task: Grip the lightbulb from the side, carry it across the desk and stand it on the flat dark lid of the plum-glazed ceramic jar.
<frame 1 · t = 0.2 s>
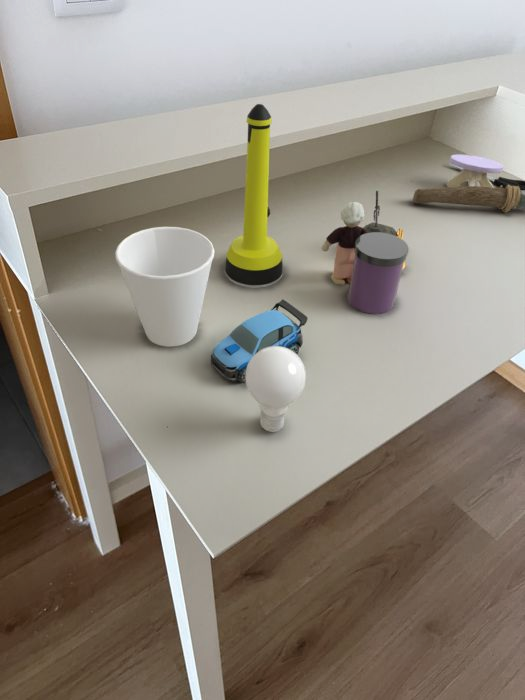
toy car: (256, 359, 75), on the table
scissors: (447, 162, 124), point 1 cm above the table
sword in stone: (373, 251, 96), on the table, touching key
stone tool: (415, 192, 108), point 3 cm above the table
key: (395, 250, 93), point 2 cm above the table, touching sword in stone
cup: (171, 331, 79), on the table
flashlight: (253, 272, 90), on the table
toy table: (468, 190, 116), on the table
grandmother figurine: (342, 280, 90), on the table
jar: (370, 300, 86), on the table
lightbulb: (271, 427, 66), on the table
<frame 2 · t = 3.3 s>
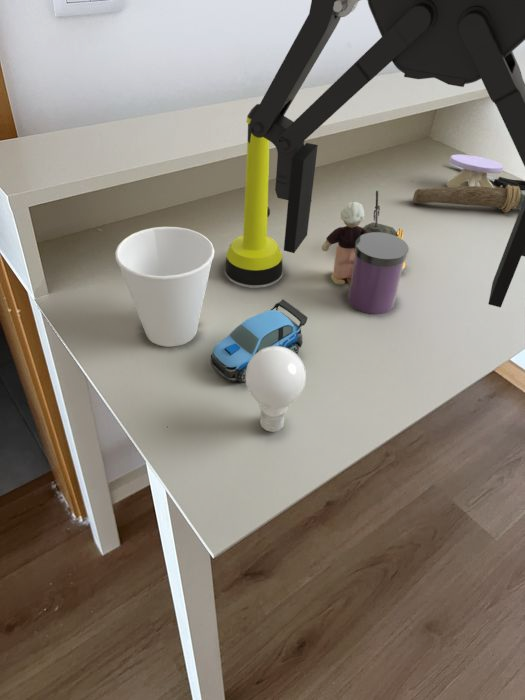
hand: (391, 268, 39), 29 cm above the table, tool pointing down, fingers open, 13 cm apart
nothing on the table moved.
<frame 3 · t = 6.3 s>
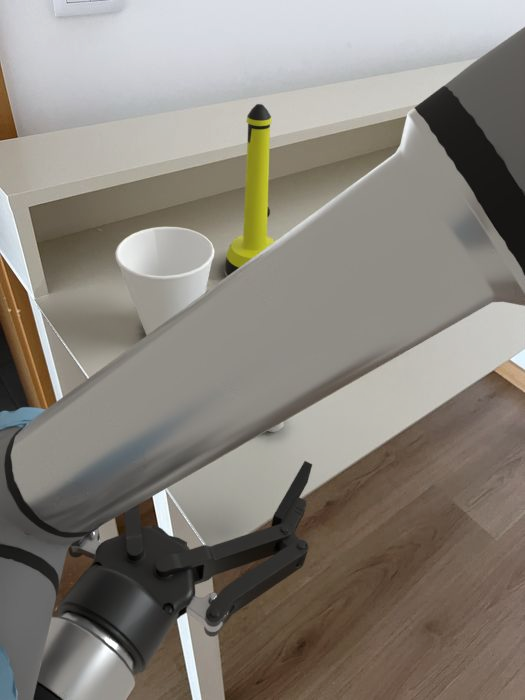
hand: (240, 440, 55), 7 cm above the table, tool horizontal, fingers open, 13 cm apart
nothing on the table moved.
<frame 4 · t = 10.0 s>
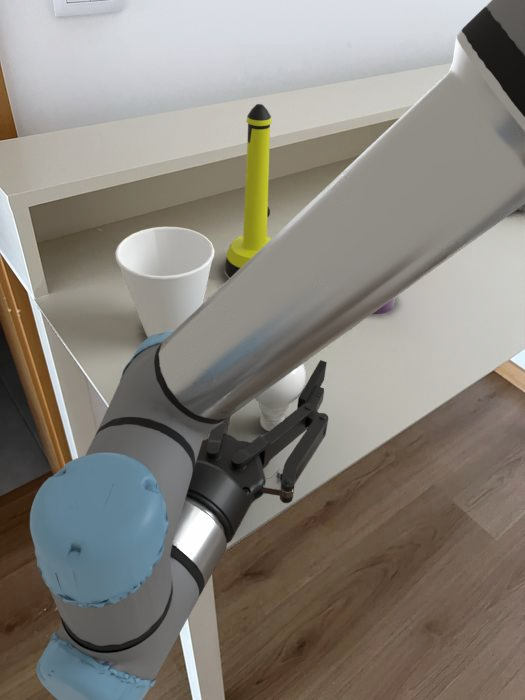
hand: (292, 360, 66), 6 cm above the table, tool horizontal, fingers closed on lightbulb, 6 cm apart
lightbulb: (271, 427, 66), on the table, touching gripper
everything else where it was.
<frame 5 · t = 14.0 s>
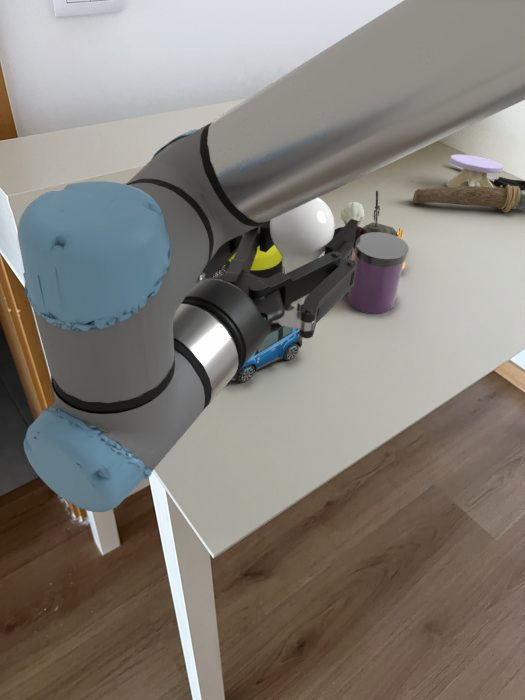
hand: (321, 222, 62), 20 cm above the table, tool horizontal, fingers closed on lightbulb, 6 cm apart
lightbulb: (295, 294, 62), point 14 cm above the table, touching gripper
everything else where it was.
when the fingers open (15 cm above the table, at t = 18.4 s): lightbulb stays where it is, resting on jar.
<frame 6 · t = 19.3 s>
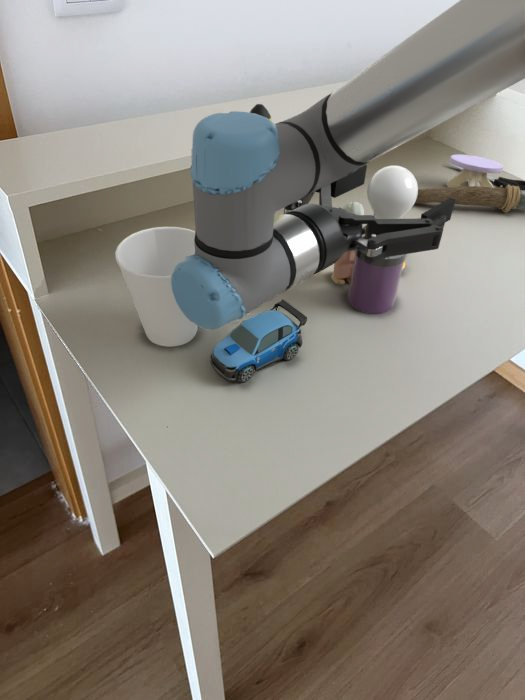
hand: (405, 190, 77), 16 cm above the table, tool horizontal, fingers open, 13 cm apart
lightbulb: (381, 246, 80), point 9 cm above the table, touching jar
everything else where it was.
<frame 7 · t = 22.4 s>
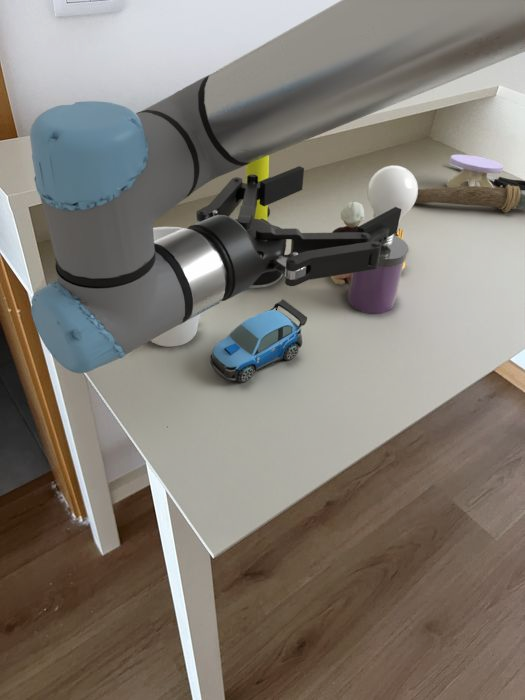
hand: (346, 197, 66), 20 cm above the table, tool horizontal, fingers open, 13 cm apart
nothing on the table moved.
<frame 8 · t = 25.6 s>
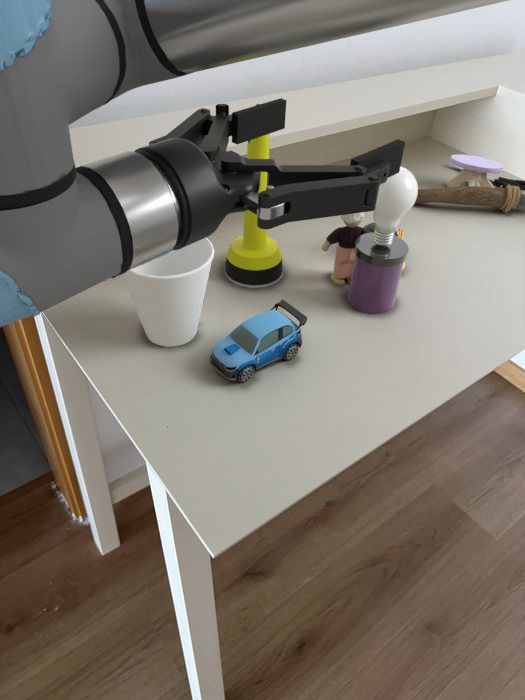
hand: (337, 133, 54), 30 cm above the table, tool horizontal, fingers open, 13 cm apart
nothing on the table moved.
at the end: lightbulb 0.0 cm off-centre on the jar, point 9.0 cm above the jar's base; lightbulb tilted 0° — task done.
